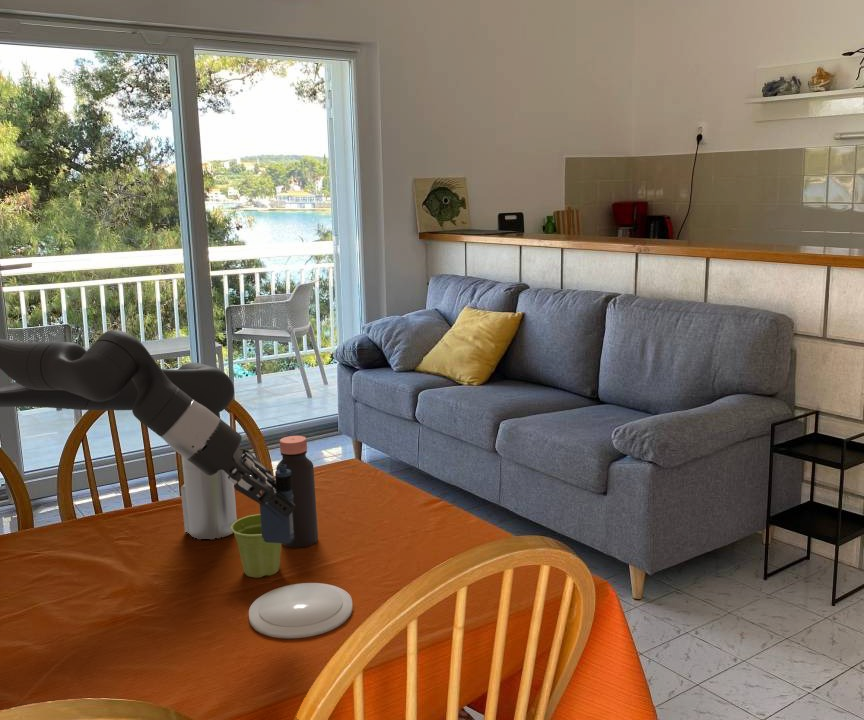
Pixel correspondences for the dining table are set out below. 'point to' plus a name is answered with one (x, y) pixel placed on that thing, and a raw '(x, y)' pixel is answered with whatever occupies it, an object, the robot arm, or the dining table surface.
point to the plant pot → (255, 548)
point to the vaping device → (274, 522)
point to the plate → (300, 610)
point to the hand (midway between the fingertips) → (290, 506)
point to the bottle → (300, 490)
